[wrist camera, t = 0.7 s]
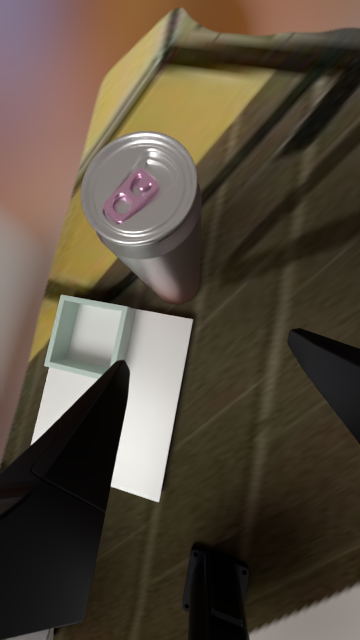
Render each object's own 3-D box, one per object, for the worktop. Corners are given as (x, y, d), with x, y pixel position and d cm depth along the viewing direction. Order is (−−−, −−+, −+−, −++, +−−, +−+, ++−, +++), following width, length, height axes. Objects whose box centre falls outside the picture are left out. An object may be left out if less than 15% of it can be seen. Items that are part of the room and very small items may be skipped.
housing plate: (161, 492, 20) (152, 527, 17) (36, 452, 23) (5, 475, 19) (193, 320, 22) (192, 317, 18) (72, 298, 24) (49, 291, 20)
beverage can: (147, 284, 23) (52, 192, 8) (178, 254, 23) (140, 103, 8) (176, 314, 22) (131, 274, 7) (208, 283, 22) (230, 177, 7)
